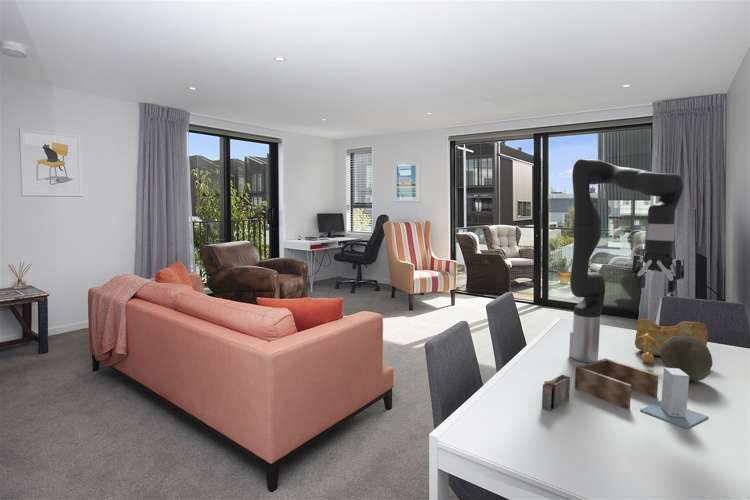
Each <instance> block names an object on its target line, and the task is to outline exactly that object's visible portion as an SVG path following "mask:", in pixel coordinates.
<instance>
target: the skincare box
mask: <svg viewBox="0 0 750 500" xmlns="http://www.w3.org/2000/svg"><path fill="white" fill-rule="evenodd" d="M689 383H690V381H689V376H688V375H687V374H686V373H684V372H683V371H682V370H680V369H677V368H666V367H663V377H662V388H661V389H662V390H661V400H660V401H661V408H662V409H663V410H664V411H665V412H666V413H667V414H668V415H669V416H672V417H683V418H686V411H687V409H688V398H689V395H688V394H689Z"/></svg>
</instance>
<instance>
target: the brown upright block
mask: <svg viewBox="0 0 750 500" xmlns="http://www.w3.org/2000/svg"><path fill="white" fill-rule="evenodd" d="M570 388H571V376H569V375H565V374H560V375H558V376H556V377H554V378H552V379H550V380H545V381H544V383H542V391H541V392H542V393H541V394H542V396H541V397H542V399H541V409H543V410H545V411H548V412H552V409H553V410H555V409H557V408H558V407H560V406H561V405H563V404H565V403H567V402H568V401H570V390H571V389H570Z"/></svg>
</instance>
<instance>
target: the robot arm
mask: <svg viewBox="0 0 750 500" xmlns="http://www.w3.org/2000/svg"><path fill="white" fill-rule="evenodd" d="M572 168H573V169H572V174H571V176H572V179H571V180H572V189H573V190H572V191H573V203H574V204H573V210H574V211H573V245H572V246H573V247H572V249H573V251H572V264H571V270H570V277H569V278H570V279H569V281H570V282H569V284H570V285H569V287H570V291H571V293H572V295H573V296H575V297H576V298H583V300H581V302H579V303H577V304H575V305H574V307H573V319H572V321H573V323H572V331H571V332H570V333H569V349H568V350H569V353H568V356H569V358H570V357H571V359H574V360H576V361H578V362H582V363H591V362H595V361H598V360H599V350H600V349H599V347H600V333H601V314H602V311H603V308H604V303H605V302H604V301H605V295H606V282H605V278H604V277H603V275H602V274H601V273H600V272H593V271H592V272H589V263H590V259H591V257H592V255H593V253H594V251H595V250H596V248H597V246H598V244H599V243H600V240H601V236H602V235H601V234H602V219H601V216H600V214H599V212H598V210H597V208H596V206H595V205H594V203H593V200H592V198H591V189H590V187H591V186H590V185H599V184H612V185H615V186H617V187H620V188H621V189H624V190H629V191H633V192H638V193H641V194H644V195H646V196H650V197H659V199H658V202H657V203H656V204H652V205H649V207H648V210H647V221H646V223H647V224H646V228H645V238H644V255H641V254H636V255H633V261H632V268H631V273H632V274H635V275H636V276H637V287H638V288H639V289H644V288H646V287H645V286H646V275H647V274H648V272H651V271H652V272H653V271H656V272H661V273H663V274H664V275H666V277H667V278H668V281H667V282H668V283H667V293H669V294H674V292H675V291H676V289H677V281H678V280H683V279H684V278H685V259H683V258H681V259H674V257H673V255H674V246H675V245H674V244H675V238H676V237H675V233H676V232H675V219H676V209H677V207H678V204H679V203H680V199H681V195H683V192H684V183H683V182H684V181H683V179H682V177H681V176H680V175H679V174H677V173H672V172H671V173H670V172H669V173H668V172H664V173H663V172H651V171H649V170H645V169H640V168H632V167H623V166H618V165H615V164H612V163H609V162H606V161H604V160H601V159H599V158H598V159H596V158H595V159H594V158H592V159H591V158H580V159H578V160H576V161H575V163H574V165H573V167H572ZM642 262H644V265H643V266H642V267H641V264H642ZM672 265H674V266H675V271H674V269H673V268H672Z"/></svg>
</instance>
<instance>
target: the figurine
mask: <svg viewBox="0 0 750 500" xmlns="http://www.w3.org/2000/svg"><path fill="white" fill-rule="evenodd" d="M638 338H643V339H644V341H645V342H643V345H644V346H645V347H644V352H645V353H644V352H642V354H641V357H640V358H641V361H642V362H643V363H645V364H651V363H653V362H654V359H655V357H654V356H655V355H652V354H651V353H650V350H651V348H652V346H651V343H649V341H650V339H651V340H653V341H655V342H656V343H657V341H656V340H654V339H653V338H651V337H650V336H649V333H646V334H645V335H643V336H639V337H637V339H638ZM635 339H636V338H635ZM637 339H636V340H634V344H635V343H636V341H637ZM647 345H648V347H650V348H649V353H648V352H646V346H647ZM657 345H659V344H658V343H657ZM659 347H660V345H659Z"/></svg>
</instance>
